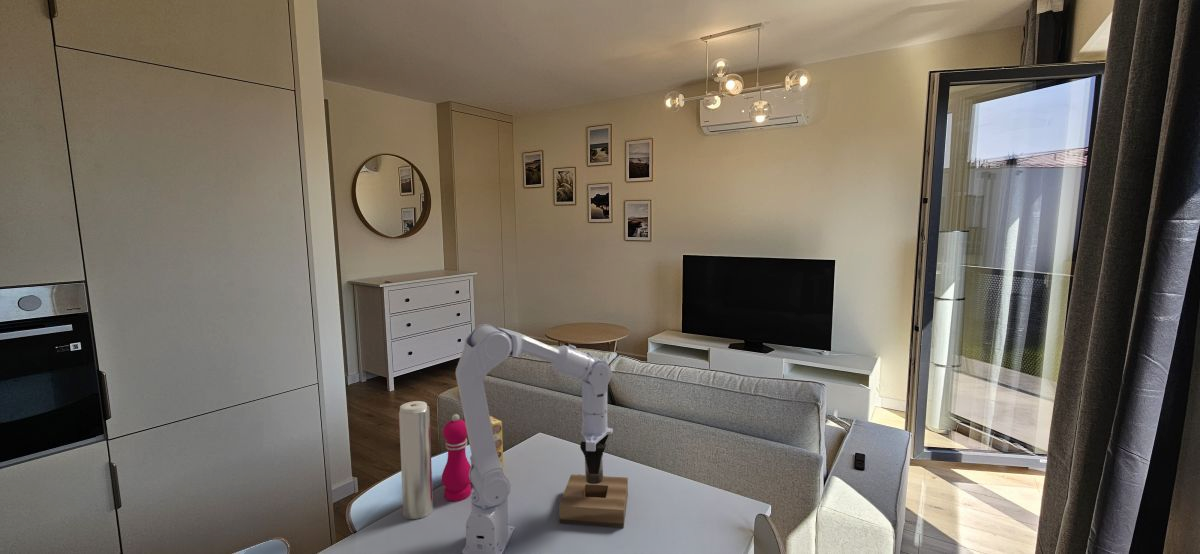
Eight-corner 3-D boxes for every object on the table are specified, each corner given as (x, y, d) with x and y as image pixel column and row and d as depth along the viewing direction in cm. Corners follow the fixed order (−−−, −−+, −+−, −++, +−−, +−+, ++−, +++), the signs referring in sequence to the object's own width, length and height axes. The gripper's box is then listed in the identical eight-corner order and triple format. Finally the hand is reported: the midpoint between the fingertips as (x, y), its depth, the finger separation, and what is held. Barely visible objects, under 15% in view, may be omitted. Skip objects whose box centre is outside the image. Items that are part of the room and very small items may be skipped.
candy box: (504, 478, 124) (503, 420, 123) (490, 484, 121) (488, 425, 120) (486, 467, 130) (485, 412, 129) (472, 472, 127) (471, 416, 126)
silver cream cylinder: (423, 521, 105) (419, 410, 103) (396, 517, 107) (392, 408, 105) (438, 505, 112) (435, 400, 110) (413, 502, 113) (409, 398, 111)
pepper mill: (477, 487, 120) (475, 409, 118) (466, 503, 112) (464, 420, 111) (449, 486, 120) (447, 408, 119) (437, 501, 113) (434, 419, 112)
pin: (601, 484, 107) (600, 449, 107) (584, 483, 108) (582, 449, 108) (604, 475, 111) (603, 442, 111) (587, 474, 112) (586, 441, 111)
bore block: (623, 527, 102) (623, 509, 102) (559, 523, 104) (559, 505, 104) (627, 493, 116) (627, 477, 116) (571, 490, 118) (570, 474, 118)
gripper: (609, 423, 101) (609, 485, 102) (615, 400, 115) (615, 454, 116) (576, 421, 102) (576, 483, 103) (586, 399, 116) (586, 453, 117)
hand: (595, 468), depth 109 cm, fingers closed on pin, 4 cm apart
